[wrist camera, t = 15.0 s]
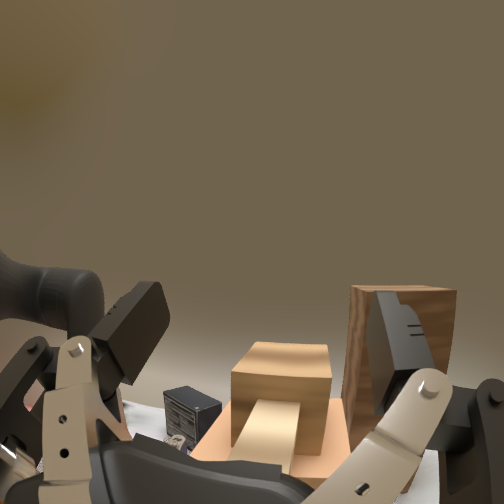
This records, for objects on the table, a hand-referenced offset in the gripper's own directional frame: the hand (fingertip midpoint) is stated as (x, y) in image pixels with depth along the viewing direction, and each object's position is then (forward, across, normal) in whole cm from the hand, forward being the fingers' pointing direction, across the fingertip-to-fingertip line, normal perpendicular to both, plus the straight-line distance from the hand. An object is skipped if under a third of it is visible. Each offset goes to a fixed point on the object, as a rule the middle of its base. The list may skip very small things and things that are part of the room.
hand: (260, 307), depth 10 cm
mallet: (-2, 0, +14) cm, 14 cm away
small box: (+12, +18, +46) cm, 51 cm away
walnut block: (+7, -14, +43) cm, 46 cm away
